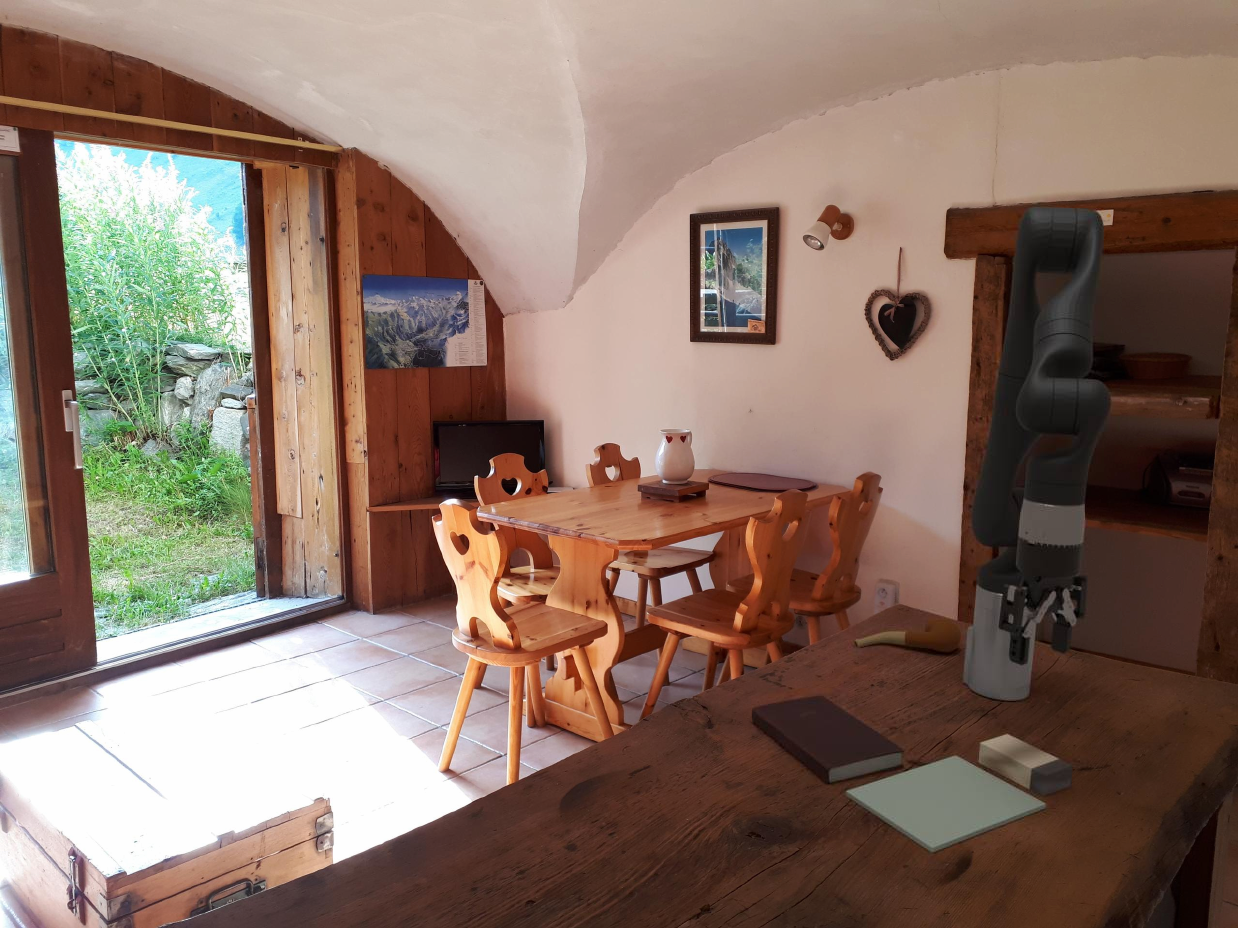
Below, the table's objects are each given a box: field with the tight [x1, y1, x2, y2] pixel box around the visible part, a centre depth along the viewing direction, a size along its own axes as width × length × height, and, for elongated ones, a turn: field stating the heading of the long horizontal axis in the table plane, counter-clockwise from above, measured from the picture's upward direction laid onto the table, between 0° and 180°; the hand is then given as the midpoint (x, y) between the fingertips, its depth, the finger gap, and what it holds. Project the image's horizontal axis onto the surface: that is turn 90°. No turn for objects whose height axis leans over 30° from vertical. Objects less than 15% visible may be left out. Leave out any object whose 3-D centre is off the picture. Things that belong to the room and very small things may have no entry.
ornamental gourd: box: [854, 617, 962, 653], centre depth 168 cm, size 7×18×6 cm, turn 93°
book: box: [751, 695, 905, 785], centre depth 132 cm, size 13×19×3 cm, turn 23°
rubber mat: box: [845, 754, 1047, 854], centre depth 117 cm, size 14×20×1 cm
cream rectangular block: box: [978, 733, 1074, 797], centre depth 125 cm, size 10×6×3 cm, turn 30°
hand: (1039, 656), depth 122 cm, fingers open, 8 cm apart
